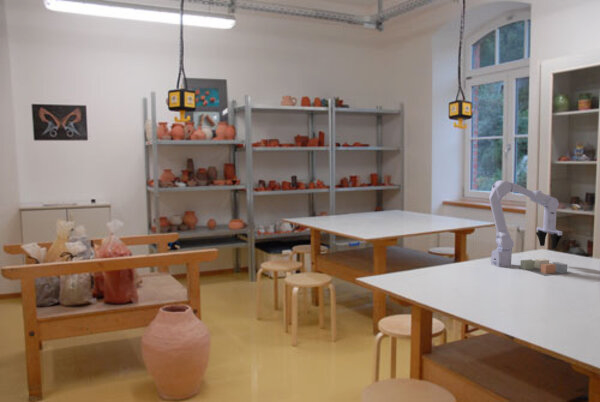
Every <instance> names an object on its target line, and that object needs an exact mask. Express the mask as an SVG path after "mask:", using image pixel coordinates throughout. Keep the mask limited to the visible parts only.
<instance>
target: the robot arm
mask: <svg viewBox="0 0 600 402" xmlns="http://www.w3.org/2000/svg"><path fill="white" fill-rule="evenodd" d="M513 192H514V193H515V192H516V193H519V194H521V195H523V196H526V197H528V198H529V200H530V202H533V203H535V204H538V205H541V206H543V218H542V219H543V223H542V227H540V226H539V227H538V226H537V227H536V232H535V235H536V236H537V238H538V242H539V246H541V247H545V245H546V238H547V234H550V238H551V239H550V240H551V249H552V250H553V249H557V247H558V245H559V242H560V240H561V239H562V237H563V231H562V230H558V229H557V228H556V227H557V225H556V224H557V212H558V211H557V209H558V208H559V206H560V203H559V200H558V198H556V197H552V196H551V195H550V194H545V193H543V192H542V190H539V189H538V190H533V191H532V190H531V189H528V188H526V187H524V186H522V185H519V184H518V183H513V182H510V181H507V180H503V179H499V180H496V181H494V183H493V184H492V185H491V190H490V193H489V197H488V199H489V206H490V209H491V213H492V217H493V221H494V225H495V230H496V232H495V236H496V237H495V244H496V245H497V246H496V249H493V250H492V251H491V255H490V257H491V258H490V265H491V266H492V265H493V266H495V267H498V268H502V267H503V268H504V267H511V266H512V255H513V247H514V245H515V243H514V240H513V239H512V238H511V234H510V232H509V231H508V228H507V224H506V220H505V218H506V217H505V215H504V211H503V206H502V202H501V200H502V199H504V197H505V196H506V195H508V194H509V193H513Z"/></svg>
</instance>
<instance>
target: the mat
mask: <svg viewBox="0 0 600 402" xmlns="http://www.w3.org/2000/svg"><path fill="white" fill-rule="evenodd" d="M519 269H521V270H524V271H527V272H530V273H534V274H537V275H540V276H542V277H543V276H544V277H549V276H559V275H560V276H561V275H569V274H571V273H569V272H567V273H560V272H557V271H555V273H547V274H545V273H542V272H541V269H539V268H535V269H522V268H520V267H519Z"/></svg>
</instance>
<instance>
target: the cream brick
mask: <svg viewBox="0 0 600 402" xmlns="http://www.w3.org/2000/svg"><path fill="white" fill-rule="evenodd" d="M534 261H535V268H539V269H541V264H548V263H550V259H548V258H539V259H535V260H534Z"/></svg>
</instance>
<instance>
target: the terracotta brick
mask: <svg viewBox="0 0 600 402" xmlns="http://www.w3.org/2000/svg"><path fill="white" fill-rule="evenodd" d="M555 271H556V264H552V263H550V262H549V263H548V264H541V272H542V273H545V274H547V273H555Z"/></svg>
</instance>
